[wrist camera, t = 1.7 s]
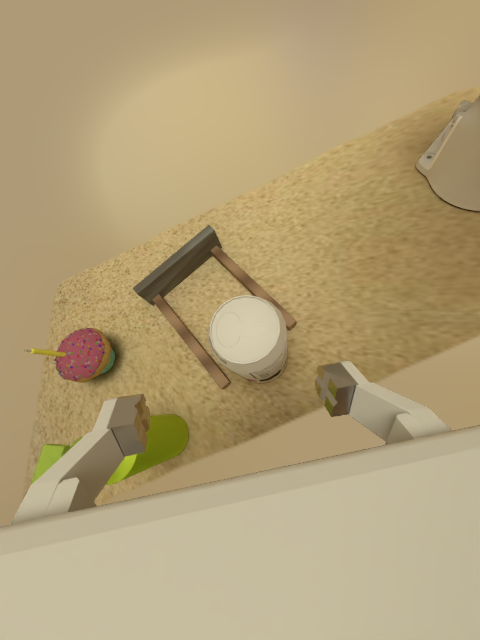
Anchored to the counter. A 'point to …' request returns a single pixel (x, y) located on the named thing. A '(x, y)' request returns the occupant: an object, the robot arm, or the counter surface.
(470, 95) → the counter surface
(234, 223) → the counter surface
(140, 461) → the soap dispenser
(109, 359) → the cupcake
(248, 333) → the supplement can
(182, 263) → the u-shaped wooden rack
